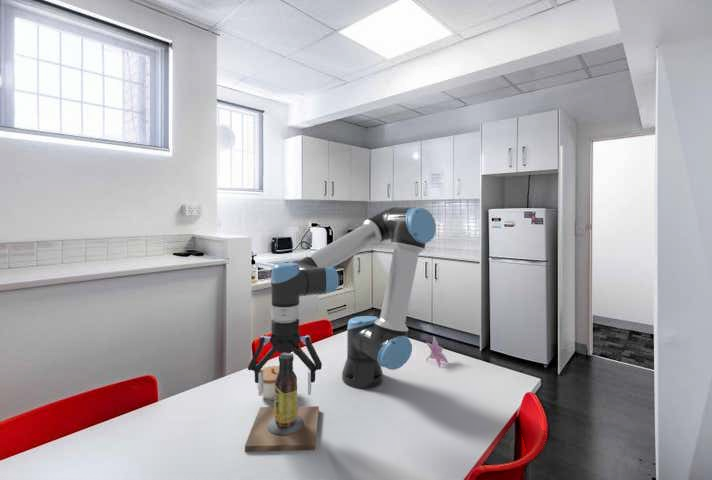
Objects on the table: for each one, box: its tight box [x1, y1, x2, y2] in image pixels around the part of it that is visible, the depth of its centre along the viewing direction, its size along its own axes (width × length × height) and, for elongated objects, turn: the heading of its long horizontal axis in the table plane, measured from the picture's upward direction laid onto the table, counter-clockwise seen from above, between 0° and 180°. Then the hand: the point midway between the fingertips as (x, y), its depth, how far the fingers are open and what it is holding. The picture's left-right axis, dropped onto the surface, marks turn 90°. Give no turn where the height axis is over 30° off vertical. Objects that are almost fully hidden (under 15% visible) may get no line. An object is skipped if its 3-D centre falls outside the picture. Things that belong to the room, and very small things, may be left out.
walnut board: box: [244, 405, 320, 452], centre depth 100 cm, size 18×18×2 cm
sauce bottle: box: [274, 352, 298, 428], centre depth 99 cm, size 7×6×20 cm
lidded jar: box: [256, 365, 279, 401], centre depth 118 cm, size 11×11×9 cm
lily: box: [425, 335, 449, 369], centre depth 146 cm, size 12×12×10 cm
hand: (285, 393), depth 99 cm, fingers open, 13 cm apart
